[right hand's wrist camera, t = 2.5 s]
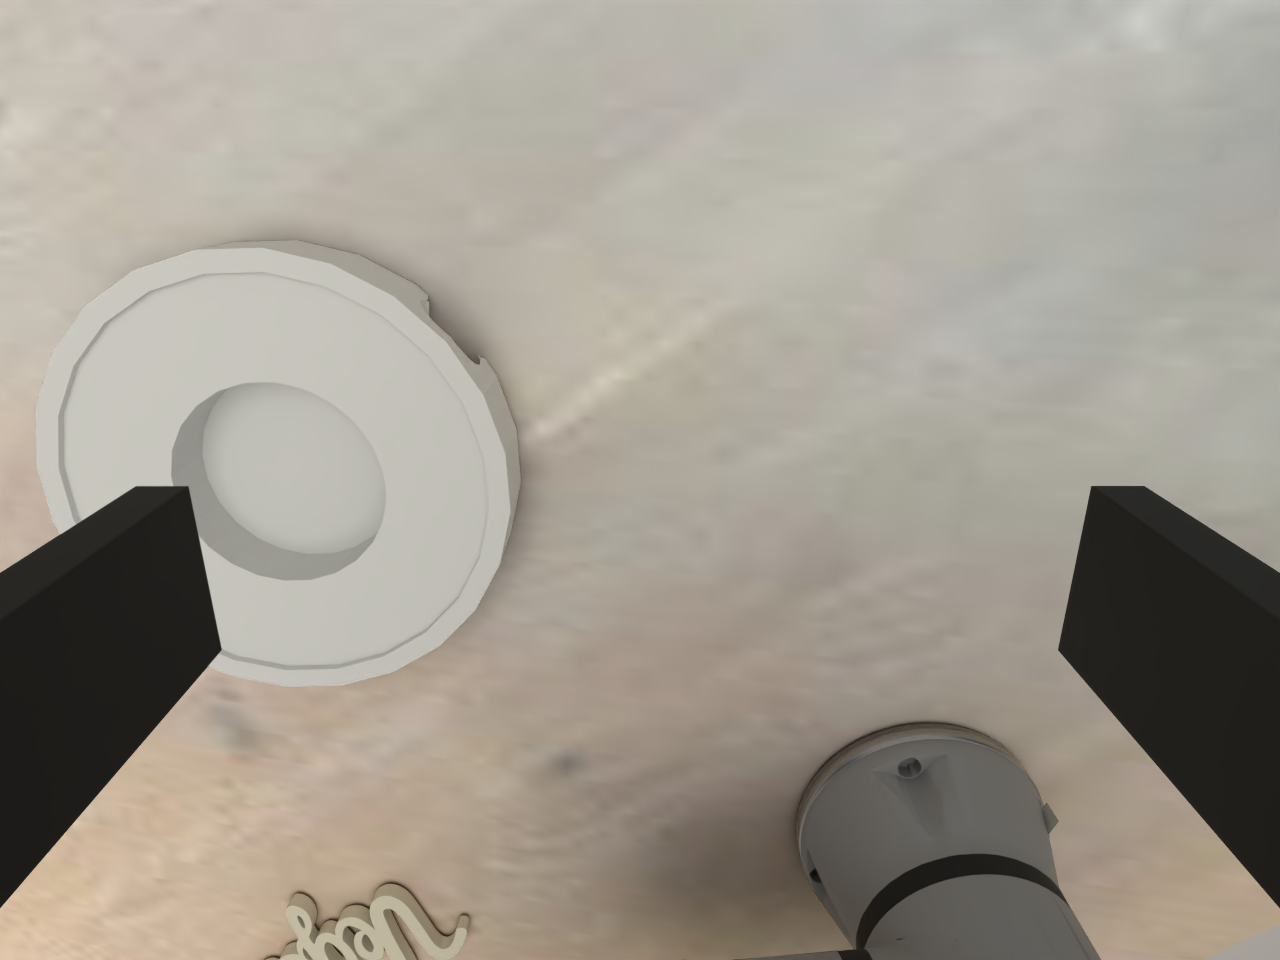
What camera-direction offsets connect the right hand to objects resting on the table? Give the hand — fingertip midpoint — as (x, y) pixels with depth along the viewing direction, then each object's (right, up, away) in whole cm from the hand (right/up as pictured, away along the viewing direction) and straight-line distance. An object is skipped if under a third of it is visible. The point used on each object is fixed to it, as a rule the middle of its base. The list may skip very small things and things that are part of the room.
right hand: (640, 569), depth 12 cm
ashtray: (-18, +2, +33) cm, 38 cm away
